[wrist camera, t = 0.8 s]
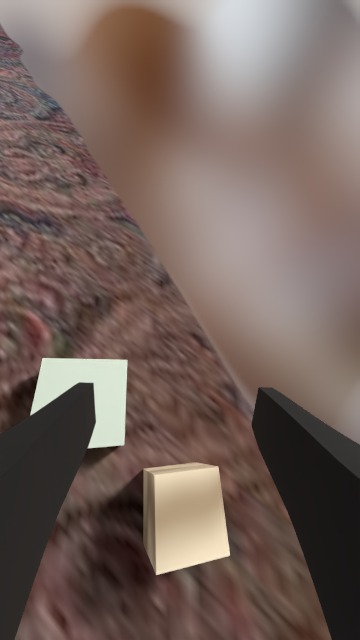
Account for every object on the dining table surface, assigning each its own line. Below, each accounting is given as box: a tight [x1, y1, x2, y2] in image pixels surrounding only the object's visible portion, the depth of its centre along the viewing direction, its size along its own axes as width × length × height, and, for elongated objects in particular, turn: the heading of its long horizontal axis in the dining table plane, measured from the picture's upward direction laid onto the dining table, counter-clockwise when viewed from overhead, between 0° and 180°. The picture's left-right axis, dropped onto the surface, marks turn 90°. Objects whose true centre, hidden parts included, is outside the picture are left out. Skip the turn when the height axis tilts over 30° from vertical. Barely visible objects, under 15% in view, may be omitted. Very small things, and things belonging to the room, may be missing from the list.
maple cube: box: [143, 462, 230, 575], centre depth 17 cm, size 5×5×5 cm
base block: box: [30, 358, 127, 448], centre depth 20 cm, size 7×7×3 cm
